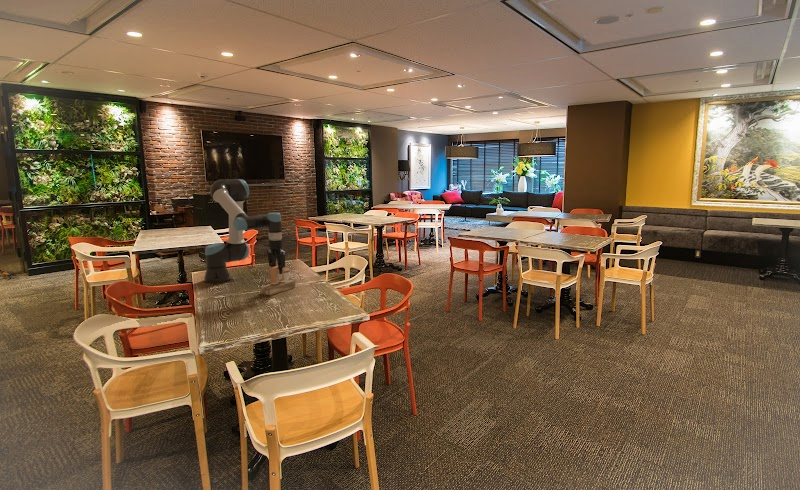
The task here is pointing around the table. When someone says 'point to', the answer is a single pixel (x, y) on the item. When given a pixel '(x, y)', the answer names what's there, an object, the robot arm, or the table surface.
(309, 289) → the table surface
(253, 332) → the table surface
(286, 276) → the lidded jar
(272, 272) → the wooden arch block
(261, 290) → the brown wooden block
